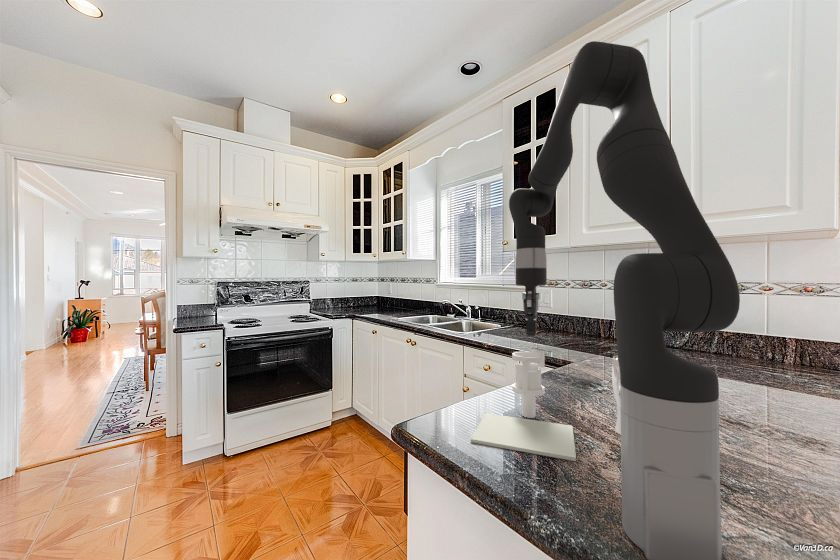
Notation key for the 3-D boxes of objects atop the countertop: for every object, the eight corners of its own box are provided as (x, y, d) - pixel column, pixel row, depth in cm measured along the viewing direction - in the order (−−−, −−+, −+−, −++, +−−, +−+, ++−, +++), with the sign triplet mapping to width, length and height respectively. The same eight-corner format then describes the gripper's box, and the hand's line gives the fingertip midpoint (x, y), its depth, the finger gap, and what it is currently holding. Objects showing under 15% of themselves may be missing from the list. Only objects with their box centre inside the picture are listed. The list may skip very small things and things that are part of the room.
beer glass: (634, 443, 62) (633, 363, 63) (604, 428, 69) (603, 355, 69) (662, 439, 64) (661, 361, 64) (631, 424, 71) (630, 354, 71)
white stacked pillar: (542, 424, 71) (541, 353, 72) (509, 417, 75) (508, 350, 75) (547, 413, 77) (546, 348, 78) (516, 407, 81) (516, 345, 81)
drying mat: (576, 461, 56) (576, 457, 56) (470, 442, 63) (470, 439, 63) (572, 428, 69) (572, 425, 69) (485, 415, 76) (485, 413, 76)
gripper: (545, 265, 77) (546, 340, 77) (547, 268, 90) (547, 332, 89) (512, 266, 80) (512, 338, 80) (518, 268, 92) (518, 331, 92)
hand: (531, 335), depth 85 cm, fingers closed
